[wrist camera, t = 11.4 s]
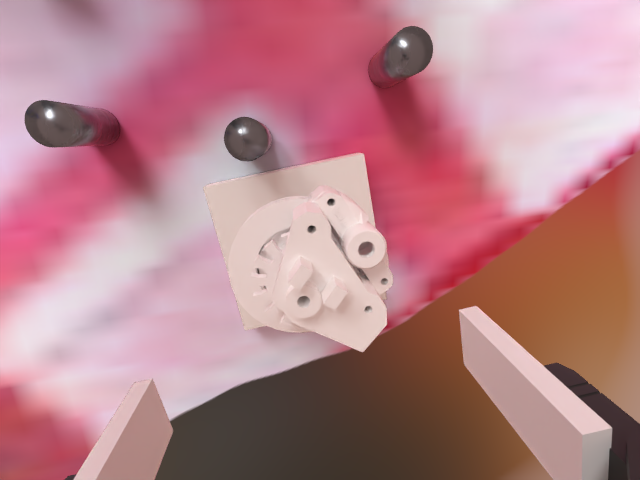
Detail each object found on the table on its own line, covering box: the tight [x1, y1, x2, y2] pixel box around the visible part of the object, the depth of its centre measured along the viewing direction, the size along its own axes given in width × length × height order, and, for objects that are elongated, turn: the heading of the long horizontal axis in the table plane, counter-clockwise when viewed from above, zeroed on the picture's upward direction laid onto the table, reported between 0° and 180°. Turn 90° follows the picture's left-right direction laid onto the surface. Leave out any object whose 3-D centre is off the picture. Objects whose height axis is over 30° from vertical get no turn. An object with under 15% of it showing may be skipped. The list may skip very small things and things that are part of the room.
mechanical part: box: [228, 185, 393, 352], centre depth 27 cm, size 11×12×12 cm
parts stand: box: [203, 153, 387, 330], centre depth 34 cm, size 14×14×2 cm
